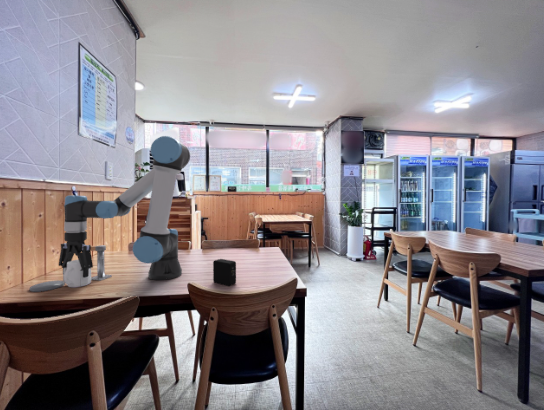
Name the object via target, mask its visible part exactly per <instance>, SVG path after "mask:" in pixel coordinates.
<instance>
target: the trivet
mask: <svg viewBox="0 0 544 410" xmlns="http://www.w3.org/2000/svg"><path fill="white" fill-rule="evenodd" d="M65 284H66V283H63V280H50V281H44V282H40V283H36V284H32V286H30V287H29V292H32V293H40V292H41V291H42V292H48V290H49V291H52V290H57V289H60V288H62V287H64V286H65Z"/></svg>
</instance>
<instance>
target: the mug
mask: <svg viewBox="0 0 544 410" xmlns="http://www.w3.org/2000/svg"><path fill="white" fill-rule="evenodd" d="M81 269H82V268H81V265H80V262H79V260H78V259H74V260H73V259H72V261H69V262H67V270H66V272H65V275H64V281H65V284H66V286H67V287H69V288H80V287H81V288H82V287H85V286H87V285H90V284H91V283H92V280H91V277H92V268H89V270H88V284H85V285H82V286H80V270H81Z"/></svg>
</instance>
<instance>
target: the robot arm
mask: <svg viewBox="0 0 544 410" xmlns="http://www.w3.org/2000/svg"><path fill="white" fill-rule="evenodd" d="M150 155H151V156H152V158H153V160H152V164H151V165H152V167H153V168H151V170H149V171H148V172H147V173H146V174H144V175H143V176H142V177H141V178H139V179H138V180H137V181H136V182H134V183H133V184H132V185H130V187H129V188H127V189H126V190H125V191H123V192H122V193H121V194H120V195H119V196H118V197H116V198H115V199H114V200H89V199H88V197H87V196H86V195H67V196H65V198H64V204H63V207H64V224H63V226H64V227H63V231H64V233H63V234H64V235H63V236H64V239H63V240H64V242H65V243H60V254H59V260H58V266H59V267H61V268H62V274H63V275H62V279H63V280H62V281H63V283H65V281H64V275H65V272H66V270H67V262H69V261H73V257H74V255H75V256H76V257H77V260H79V262H80V265H81V268H82V269H81V270H80V286H81V287H83V286H82V285H85V284H88V270H89V268H91V269H92V268H93V267H94V265H93V259H92V251H90V250H91V246H92V245H91V244H86V243H85V241H86V240H87V239H88V232H87V228H88V226H87V225H88V223H87V222H88V218H89V219H103V220H106V219H114V218H115V217H123V216H126V215H128V214H129V213H130V212H131V209H132V208H133V207H134V206H135V205H136V204H138V203H139V202H140V201H141V200H142V199H144V198H145V197H146V196H148V195H149V194H150V193H151V195H150V200H149V205H148V211H147V216H146V222H145V225H144V226H143V227H141V229H140V232H139V237H138V238H137V239H136V240H134V243H133V244H132V254H133V256H134V257H135V258H136V259H137V260H138V261H139V262H140V263H143V264H150V267H149V270H148V272H147V273H148V274H147V275H148V276H147V278H148V279H150V280H152V281H153V280H154V281H164V280H165V281H166V280H171V279H175V278H178V277H180V276H181V275H182V274H183V271H182V270H183V269H182V267H181V263H180V261H179V233H178V230H177V229H175V228H168V225H169V220H170V214H171V210H172V209H171V208H172V205H173V204H172V203H173V198H174V197H173V196H174V193H175V192H174V191H175V187H176V180H177V175H179V174H180V173H181V172H182V171H183V169H184V168H185V167H187V165H188V164H189V163H190V159H191V153H190V150H189V148H188V147H187V146H186V145H185V144H184V143H182V142H180V141H179V139H177V138H176V137H175V138H174V137H172V136H171V135H170V136H169V135H162V136H160V137H157V138H156V139H155V140H153V142H152V143H151V144H150ZM65 284H66V283H65ZM88 285H89V284H88ZM85 286H86V285H85Z"/></svg>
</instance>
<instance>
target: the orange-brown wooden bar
mask: <svg viewBox="0 0 544 410" xmlns="http://www.w3.org/2000/svg"><path fill="white" fill-rule="evenodd" d="M106 246H107V245H91V250H90V251H91V252H92V251H93V252H94V251H95V252H97V251H104V252H105V251H106V250H107V249H106V248H107V247H106Z"/></svg>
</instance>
